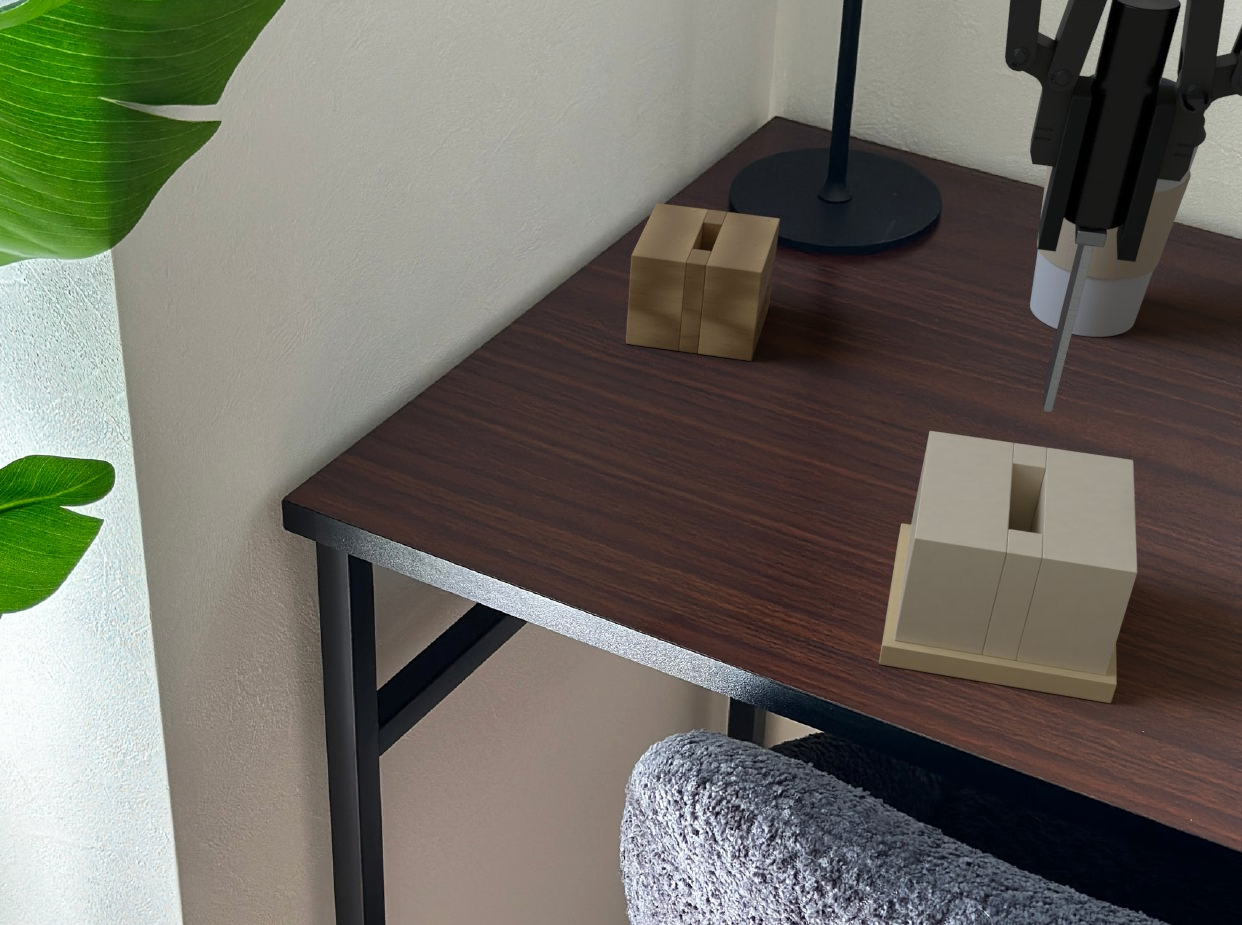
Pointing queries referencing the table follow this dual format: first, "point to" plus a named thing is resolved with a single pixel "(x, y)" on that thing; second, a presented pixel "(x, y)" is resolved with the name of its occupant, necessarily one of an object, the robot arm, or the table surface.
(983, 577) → the slotted block on base
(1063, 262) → the coffee cup
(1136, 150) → the knife
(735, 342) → the knife block
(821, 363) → the table surface
